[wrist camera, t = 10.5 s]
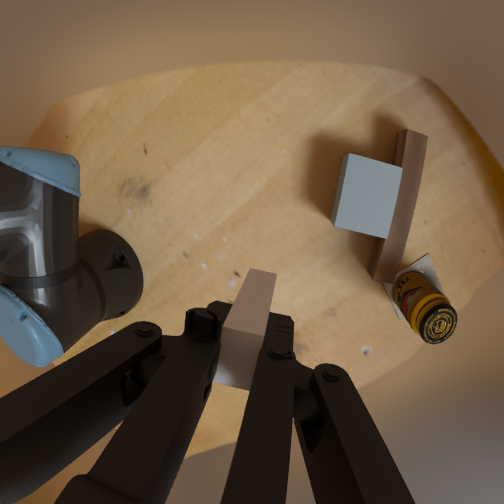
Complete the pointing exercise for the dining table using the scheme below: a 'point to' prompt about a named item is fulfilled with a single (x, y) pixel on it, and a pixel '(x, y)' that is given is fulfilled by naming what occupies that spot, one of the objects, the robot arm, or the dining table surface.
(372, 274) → the board
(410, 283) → the condiment
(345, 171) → the block
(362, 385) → the dining table surface
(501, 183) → the dining table surface
